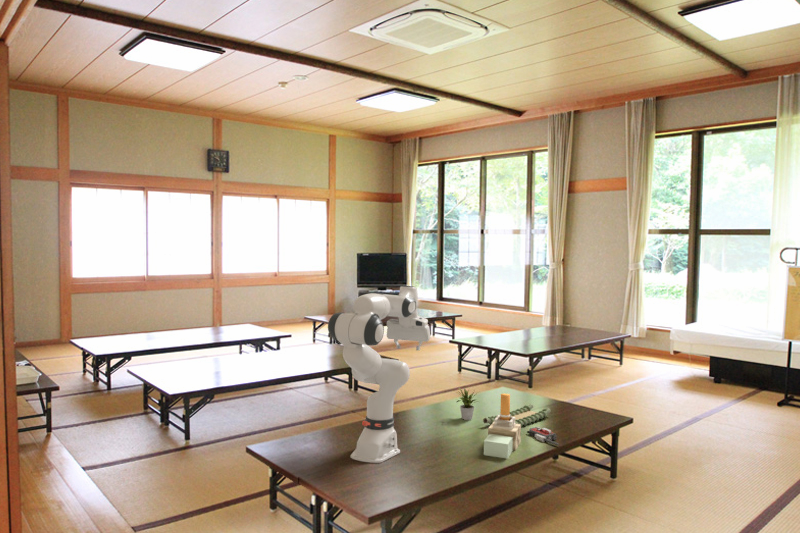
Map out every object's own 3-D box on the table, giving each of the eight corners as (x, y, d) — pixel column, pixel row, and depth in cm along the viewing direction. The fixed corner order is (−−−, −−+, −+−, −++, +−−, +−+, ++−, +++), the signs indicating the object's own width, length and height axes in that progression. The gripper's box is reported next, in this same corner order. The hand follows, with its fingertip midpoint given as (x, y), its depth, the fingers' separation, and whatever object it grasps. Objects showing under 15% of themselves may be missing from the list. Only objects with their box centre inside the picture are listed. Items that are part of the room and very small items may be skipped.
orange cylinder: (508, 426, 245) (509, 396, 245) (498, 424, 247) (499, 395, 247) (510, 423, 249) (511, 394, 249) (500, 421, 251) (501, 393, 251)
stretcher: (505, 434, 263) (505, 424, 263) (481, 427, 273) (481, 417, 273) (552, 417, 291) (552, 408, 291) (528, 411, 301) (528, 402, 301)
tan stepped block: (515, 450, 241) (515, 423, 240) (487, 446, 245) (488, 420, 245) (520, 441, 252) (521, 416, 251) (494, 438, 256) (494, 413, 256)
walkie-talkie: (523, 435, 262) (556, 448, 245) (523, 426, 262) (557, 438, 245) (536, 432, 267) (570, 444, 250) (536, 423, 267) (570, 434, 250)
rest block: (507, 458, 231) (507, 444, 231) (483, 454, 235) (484, 440, 235) (512, 450, 240) (512, 437, 240) (489, 447, 244) (489, 433, 244)
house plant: (444, 417, 287) (445, 385, 287) (462, 412, 296) (463, 382, 296) (466, 424, 277) (466, 391, 276) (484, 419, 286) (484, 387, 285)
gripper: (384, 320, 258) (384, 349, 260) (427, 323, 252) (427, 352, 254) (388, 317, 264) (388, 345, 266) (431, 319, 258) (431, 349, 260)
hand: (408, 349), depth 260 cm, fingers open, 8 cm apart
